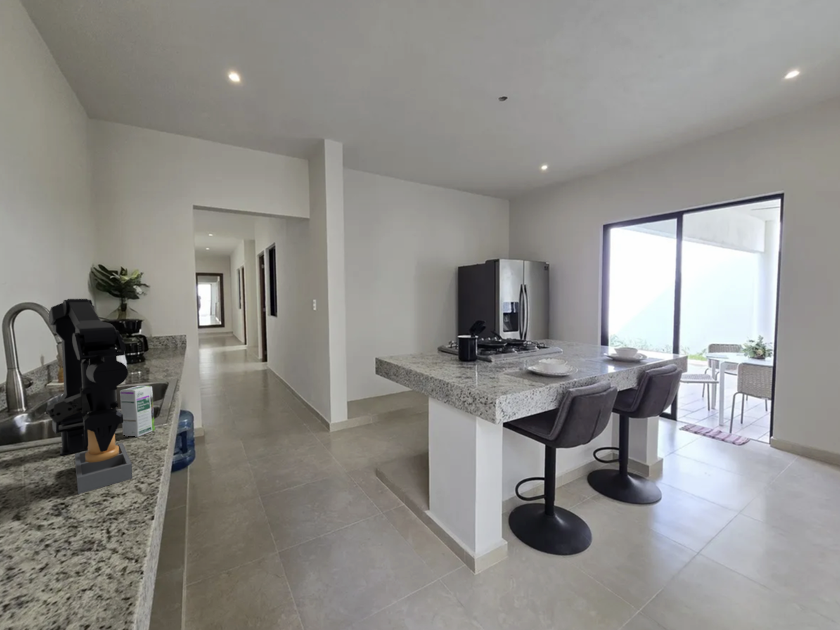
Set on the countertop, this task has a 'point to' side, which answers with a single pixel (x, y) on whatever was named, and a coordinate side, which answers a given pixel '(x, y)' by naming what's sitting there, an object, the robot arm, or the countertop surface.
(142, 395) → the syrup box
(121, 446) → the gray divided tray
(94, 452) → the tan pear-shaped knob
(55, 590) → the countertop surface
